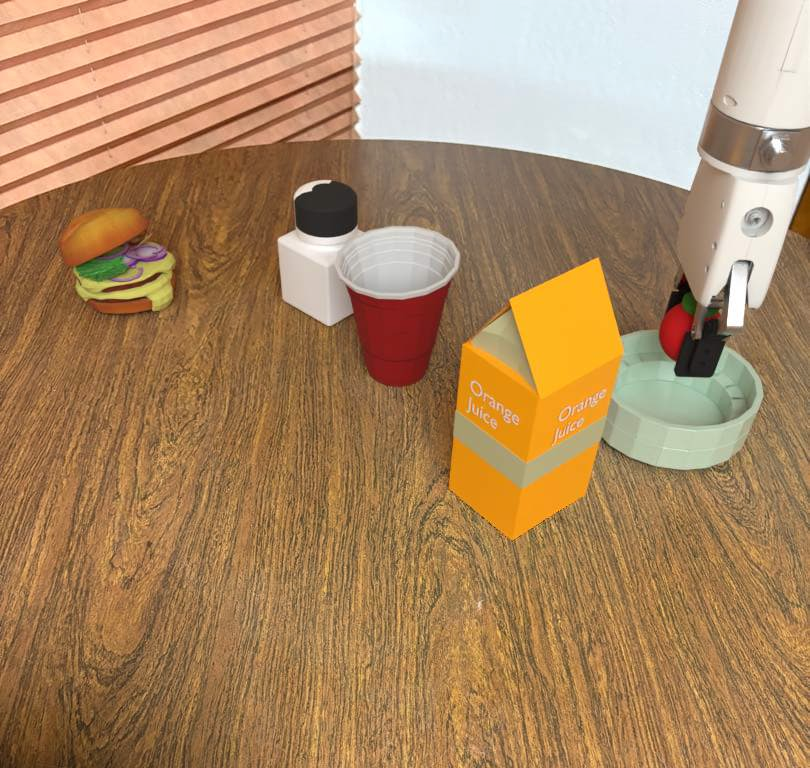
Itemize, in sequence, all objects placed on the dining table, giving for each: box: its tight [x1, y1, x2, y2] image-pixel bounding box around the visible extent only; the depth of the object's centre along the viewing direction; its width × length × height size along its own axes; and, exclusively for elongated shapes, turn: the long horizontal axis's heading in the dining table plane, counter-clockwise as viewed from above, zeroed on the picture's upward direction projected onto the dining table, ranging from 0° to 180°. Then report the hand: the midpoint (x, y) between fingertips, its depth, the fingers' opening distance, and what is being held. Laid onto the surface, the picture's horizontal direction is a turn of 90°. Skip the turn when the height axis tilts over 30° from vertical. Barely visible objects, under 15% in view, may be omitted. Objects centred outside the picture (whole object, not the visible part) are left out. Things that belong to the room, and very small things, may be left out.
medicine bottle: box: [277, 179, 366, 327], centre depth 85 cm, size 7×7×12 cm
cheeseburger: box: [58, 207, 177, 315], centre depth 87 cm, size 10×11×10 cm
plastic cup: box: [334, 225, 461, 388], centre depth 78 cm, size 11×11×12 cm
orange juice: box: [448, 256, 624, 544], centre depth 64 cm, size 8×9×20 cm
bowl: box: [601, 328, 765, 471], centre depth 76 cm, size 14×14×5 cm
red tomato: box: [658, 292, 722, 361], centre depth 71 cm, size 5×5×6 cm
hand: (685, 352), depth 73 cm, fingers closed on red tomato, 5 cm apart
